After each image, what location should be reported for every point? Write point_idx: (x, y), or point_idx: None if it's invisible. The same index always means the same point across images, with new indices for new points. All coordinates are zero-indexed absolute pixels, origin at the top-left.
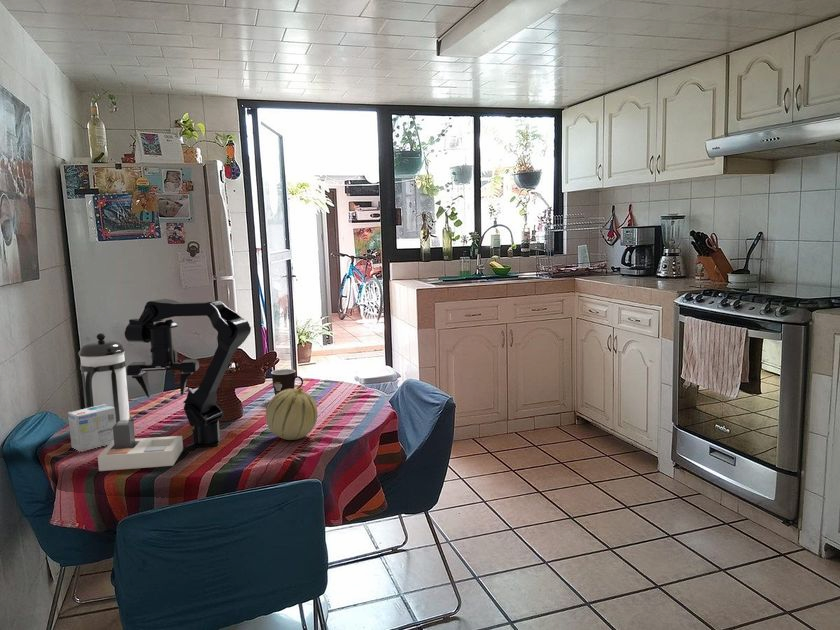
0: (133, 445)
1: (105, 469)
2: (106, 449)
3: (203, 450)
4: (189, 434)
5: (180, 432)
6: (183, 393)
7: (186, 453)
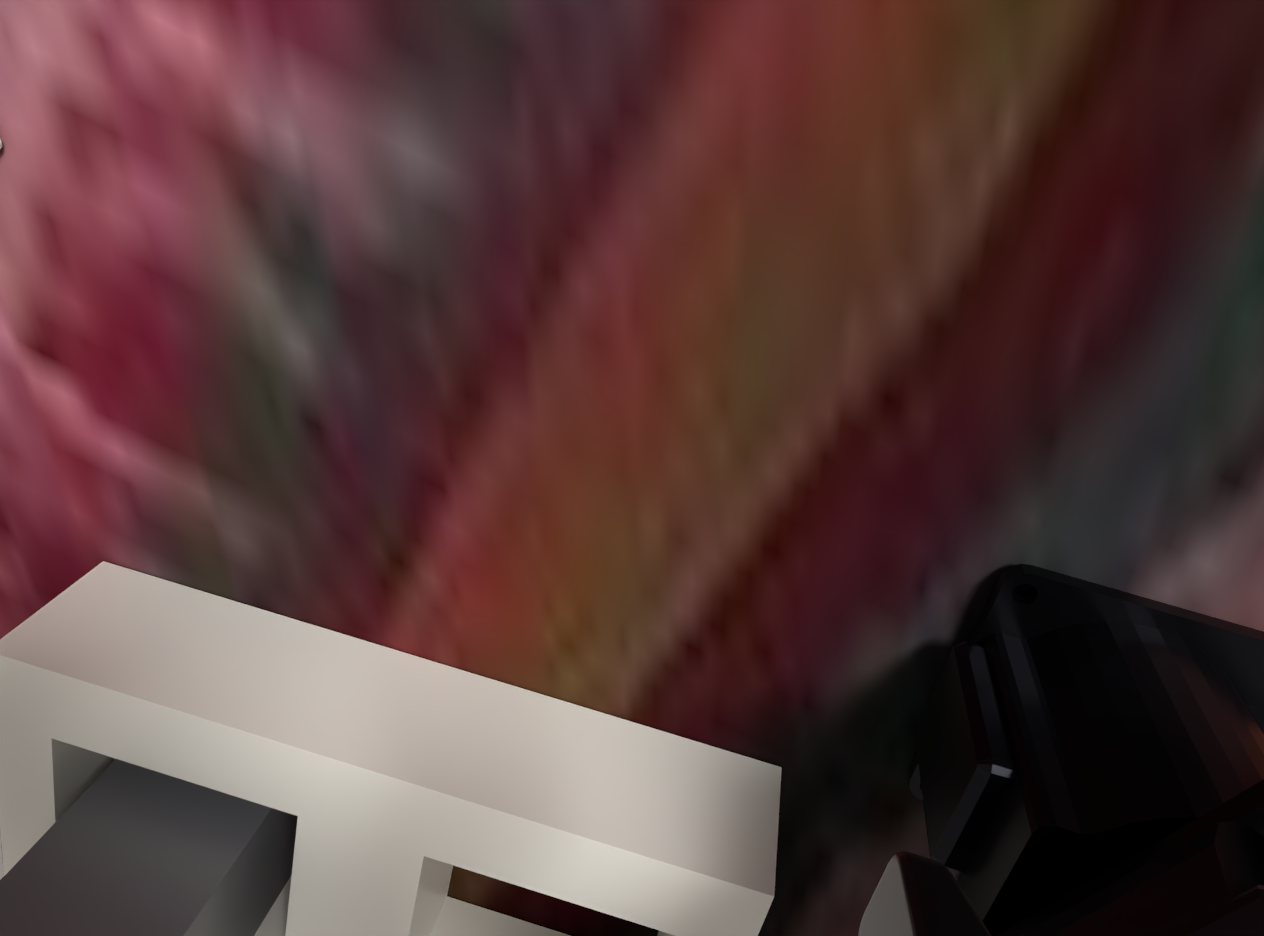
0: (257, 872)
1: None
2: None
3: None
4: (938, 227)
5: (818, 41)
6: (955, 900)
7: (803, 878)
